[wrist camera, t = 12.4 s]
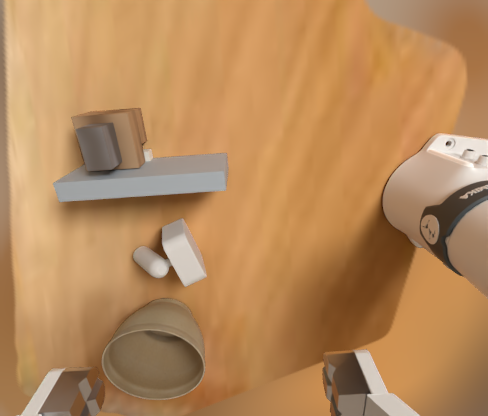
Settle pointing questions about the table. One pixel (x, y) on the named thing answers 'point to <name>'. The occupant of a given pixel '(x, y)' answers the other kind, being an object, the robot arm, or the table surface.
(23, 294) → the table surface
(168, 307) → the planter bowl
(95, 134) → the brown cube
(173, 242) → the wall hook
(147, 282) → the table surface
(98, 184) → the wall board
